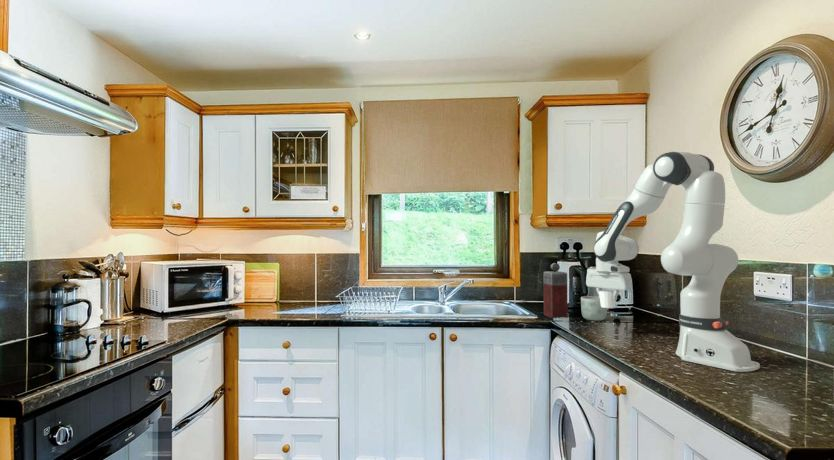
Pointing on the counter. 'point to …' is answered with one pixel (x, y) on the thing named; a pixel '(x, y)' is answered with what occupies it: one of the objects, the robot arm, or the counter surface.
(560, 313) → the red decanter
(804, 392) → the counter surface
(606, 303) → the shot glass
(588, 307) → the planter
